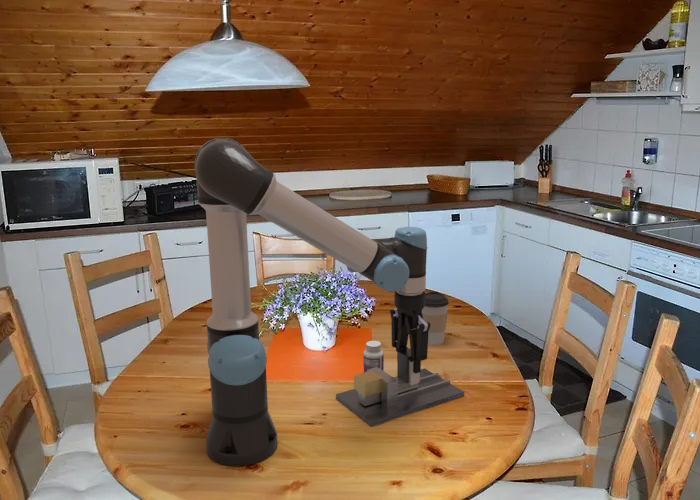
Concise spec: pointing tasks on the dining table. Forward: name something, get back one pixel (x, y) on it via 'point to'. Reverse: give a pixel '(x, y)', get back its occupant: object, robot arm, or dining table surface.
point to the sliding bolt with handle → (402, 379)
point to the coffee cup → (435, 316)
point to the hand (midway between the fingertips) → (408, 379)
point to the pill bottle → (373, 356)
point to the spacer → (368, 383)
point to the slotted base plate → (400, 397)
